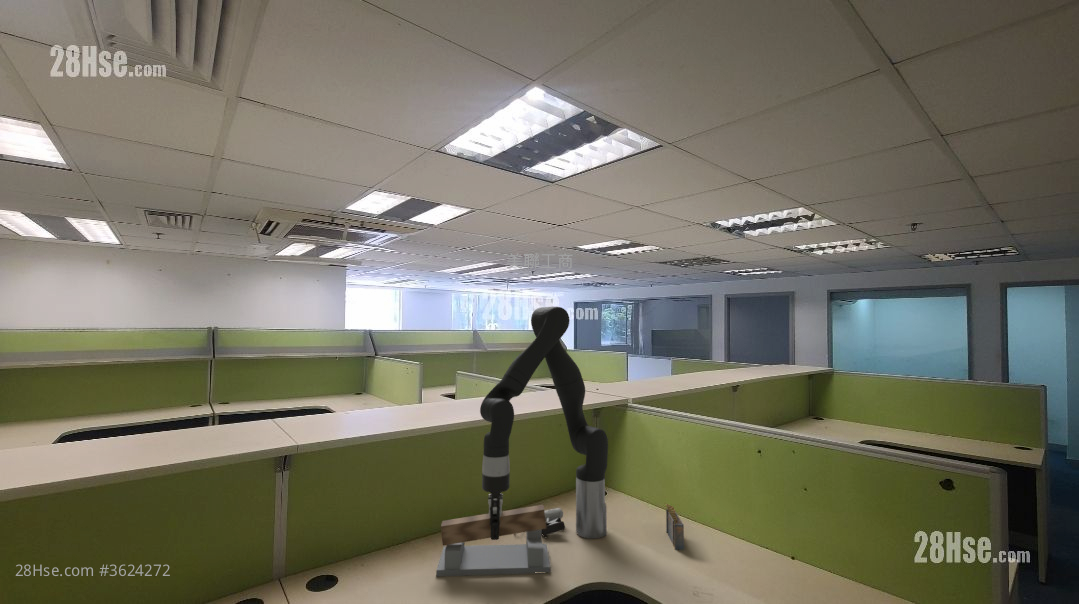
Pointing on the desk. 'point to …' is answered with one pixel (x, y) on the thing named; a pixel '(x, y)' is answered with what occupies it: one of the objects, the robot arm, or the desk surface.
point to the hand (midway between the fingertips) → (495, 535)
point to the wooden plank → (481, 528)
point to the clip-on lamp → (553, 521)
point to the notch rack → (495, 558)
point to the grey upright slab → (674, 528)
